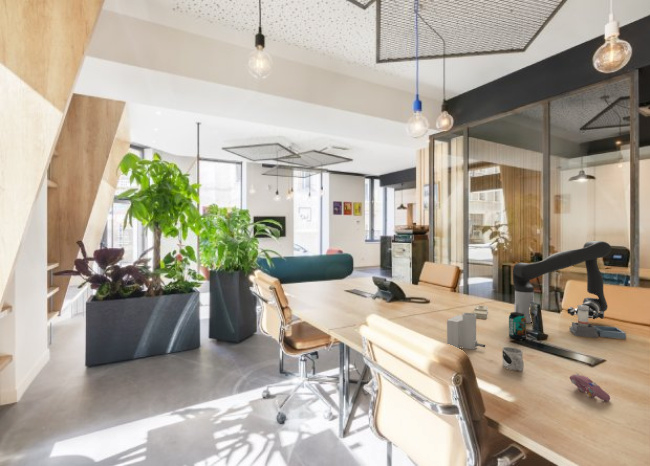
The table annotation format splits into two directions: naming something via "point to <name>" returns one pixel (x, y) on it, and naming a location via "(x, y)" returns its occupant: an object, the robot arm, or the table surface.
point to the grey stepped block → (462, 331)
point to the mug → (513, 358)
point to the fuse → (583, 315)
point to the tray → (609, 332)
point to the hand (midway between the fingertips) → (582, 315)
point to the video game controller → (589, 387)
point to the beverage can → (517, 325)
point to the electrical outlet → (481, 311)
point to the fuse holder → (583, 330)
